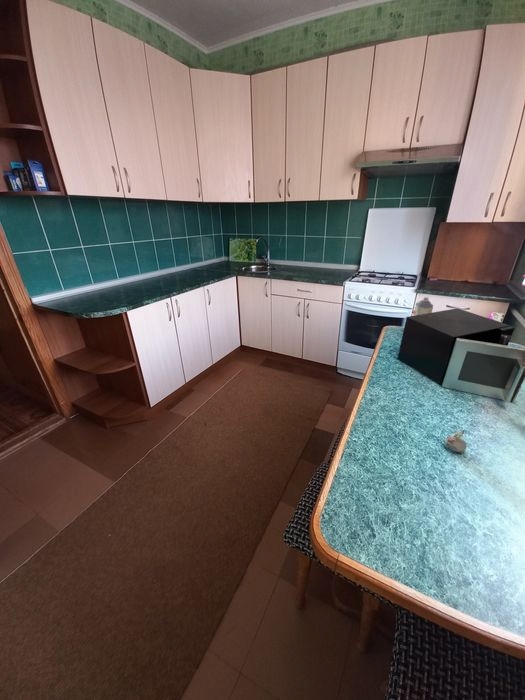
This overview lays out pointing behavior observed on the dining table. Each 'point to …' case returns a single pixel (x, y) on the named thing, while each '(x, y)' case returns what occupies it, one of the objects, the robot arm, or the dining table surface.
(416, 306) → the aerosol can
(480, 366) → the oven door
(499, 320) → the candy bar box
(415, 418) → the dining table surface
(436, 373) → the oven
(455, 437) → the figurine
